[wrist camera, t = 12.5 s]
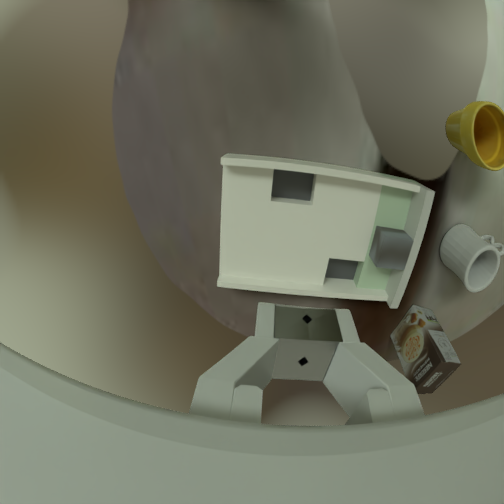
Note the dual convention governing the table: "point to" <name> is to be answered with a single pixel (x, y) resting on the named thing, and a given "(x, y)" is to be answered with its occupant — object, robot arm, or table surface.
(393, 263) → the block
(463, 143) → the plant pot
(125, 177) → the table surface
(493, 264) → the mug
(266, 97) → the table surface
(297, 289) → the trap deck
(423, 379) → the coffee box
